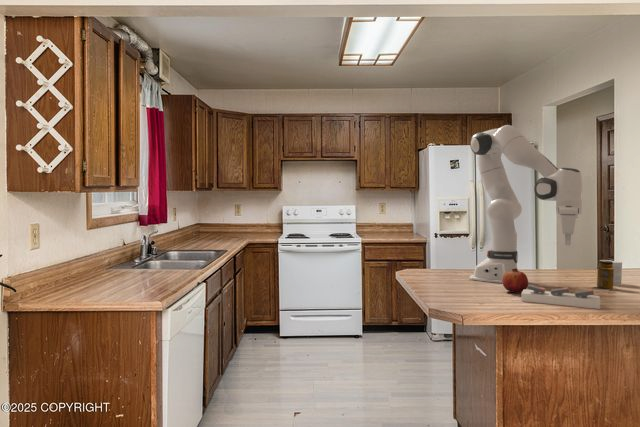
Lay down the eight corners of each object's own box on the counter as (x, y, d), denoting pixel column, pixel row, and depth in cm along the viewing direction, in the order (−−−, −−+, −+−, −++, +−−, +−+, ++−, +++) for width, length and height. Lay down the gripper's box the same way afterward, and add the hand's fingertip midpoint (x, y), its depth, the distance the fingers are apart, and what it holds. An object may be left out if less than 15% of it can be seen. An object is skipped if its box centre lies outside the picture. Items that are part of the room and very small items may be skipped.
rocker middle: (551, 294, 179) (550, 290, 179) (551, 292, 182) (550, 288, 182) (569, 292, 176) (568, 288, 176) (569, 290, 180) (568, 286, 180)
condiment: (617, 289, 207) (618, 261, 207) (607, 291, 203) (608, 263, 202) (599, 286, 213) (600, 259, 213) (589, 288, 209) (590, 261, 208)
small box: (598, 282, 223) (598, 260, 222) (609, 282, 223) (610, 259, 223) (609, 285, 215) (610, 262, 214) (621, 285, 215) (622, 262, 215)
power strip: (521, 301, 183) (521, 292, 182) (523, 296, 190) (523, 288, 190) (600, 308, 170) (600, 299, 170) (599, 303, 178) (599, 294, 178)
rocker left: (527, 288, 183) (528, 285, 183) (528, 287, 186) (529, 283, 186) (544, 293, 180) (545, 290, 180) (544, 291, 184) (545, 288, 183)
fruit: (528, 295, 192) (529, 271, 192) (502, 294, 196) (502, 269, 195) (527, 291, 202) (527, 267, 202) (501, 289, 206) (502, 266, 205)
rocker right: (575, 296, 175) (574, 292, 175) (575, 294, 179) (574, 290, 179) (594, 294, 172) (593, 290, 172) (593, 292, 176) (592, 288, 176)
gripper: (560, 208, 197) (559, 241, 198) (558, 209, 179) (558, 246, 180) (577, 208, 194) (577, 242, 195) (578, 210, 176) (577, 247, 177)
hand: (567, 244), depth 187 cm, fingers open, 5 cm apart
